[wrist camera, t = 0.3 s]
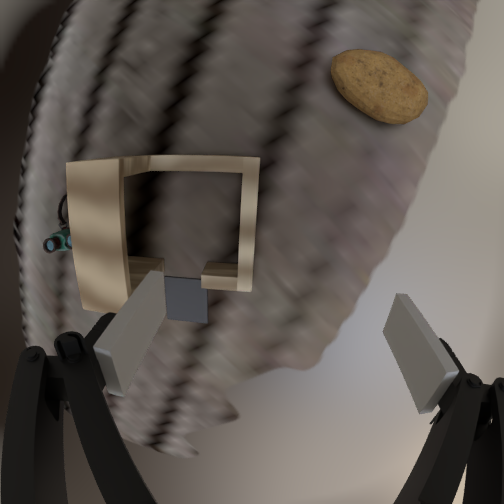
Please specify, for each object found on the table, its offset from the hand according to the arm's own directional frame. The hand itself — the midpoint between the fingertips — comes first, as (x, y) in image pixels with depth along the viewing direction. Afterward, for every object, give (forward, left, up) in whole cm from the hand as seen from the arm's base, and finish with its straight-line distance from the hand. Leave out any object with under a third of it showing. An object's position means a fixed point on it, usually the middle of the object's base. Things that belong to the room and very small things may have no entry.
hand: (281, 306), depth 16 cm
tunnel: (+2, -12, -28) cm, 30 cm away
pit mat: (+16, -12, -28) cm, 34 cm away
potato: (-19, +13, -28) cm, 36 cm away
